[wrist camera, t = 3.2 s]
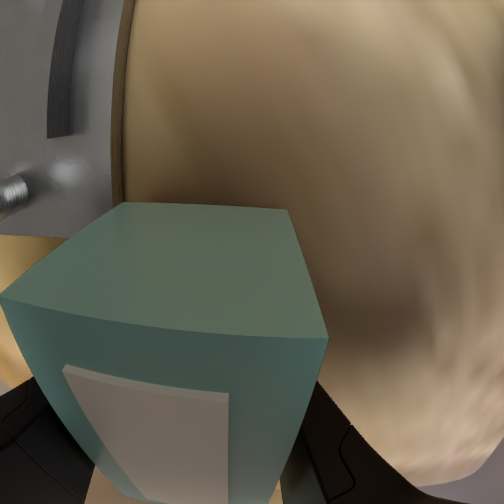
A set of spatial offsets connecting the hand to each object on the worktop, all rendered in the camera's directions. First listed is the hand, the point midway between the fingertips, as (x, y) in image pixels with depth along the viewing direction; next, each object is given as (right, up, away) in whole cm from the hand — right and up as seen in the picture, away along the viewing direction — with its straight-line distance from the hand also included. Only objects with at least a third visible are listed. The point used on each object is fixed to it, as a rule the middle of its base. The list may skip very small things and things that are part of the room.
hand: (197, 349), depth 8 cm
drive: (0, 0, +1) cm, 1 cm away
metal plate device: (-8, +10, -2) cm, 13 cm away
